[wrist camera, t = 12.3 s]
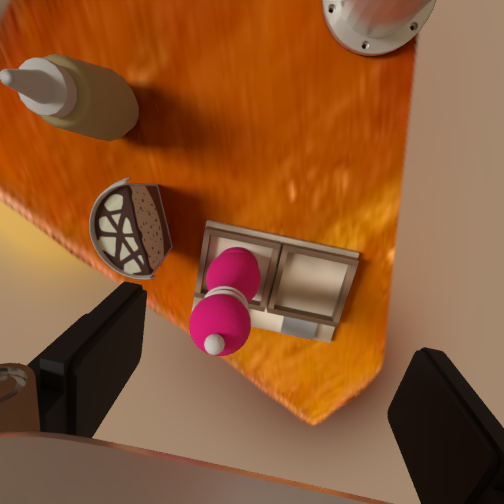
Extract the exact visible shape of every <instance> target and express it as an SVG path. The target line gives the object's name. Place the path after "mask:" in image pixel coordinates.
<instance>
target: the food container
mask: <svg viewBox="0 0 504 504" xmlns="http://www.w3.org/2000/svg"><path fill="white" fill-rule="evenodd" d="M130 179H131V178H126V179H122V180H120V181H118V182H116V183H114V184H113V185H111V186H110V187H109V188H107V189H106V190H105V191H104V192H103V193H102V194H101V195H100V196H99V197H98V198H97V200H96V201H95V203H94V206H93V208H92V210H91V214H90V219H89V231H90V236H91V240H92V243H93V245H94V248H95V249H96V251H97V253H98V254H99V256H100V257H101V258H102V260H103V261H104V262H105V263H106V264H107V265H108V266H110V267H111V268H112V269H114V270H115V271H117V272H119V273H120V274H123V275H125V276H128V277H131V278H136V279H153V278H155V277H156V275H154V276H152V275H153V274H154V273H155V271H156V270H157V269H158V267H159V266H160V264H161V263H162V262H163V260H164V259H165V258H166V256H167V255H168V253H169V252H170V251H171V249H172V248H173V245H172V241H171V237H170V233H169V229H168V225H167V220H166V216H165V212H164V208H163V204H162V200H161V196H160V191H159V187H158V184H139V183H127V181H128V180H130Z"/></svg>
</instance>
